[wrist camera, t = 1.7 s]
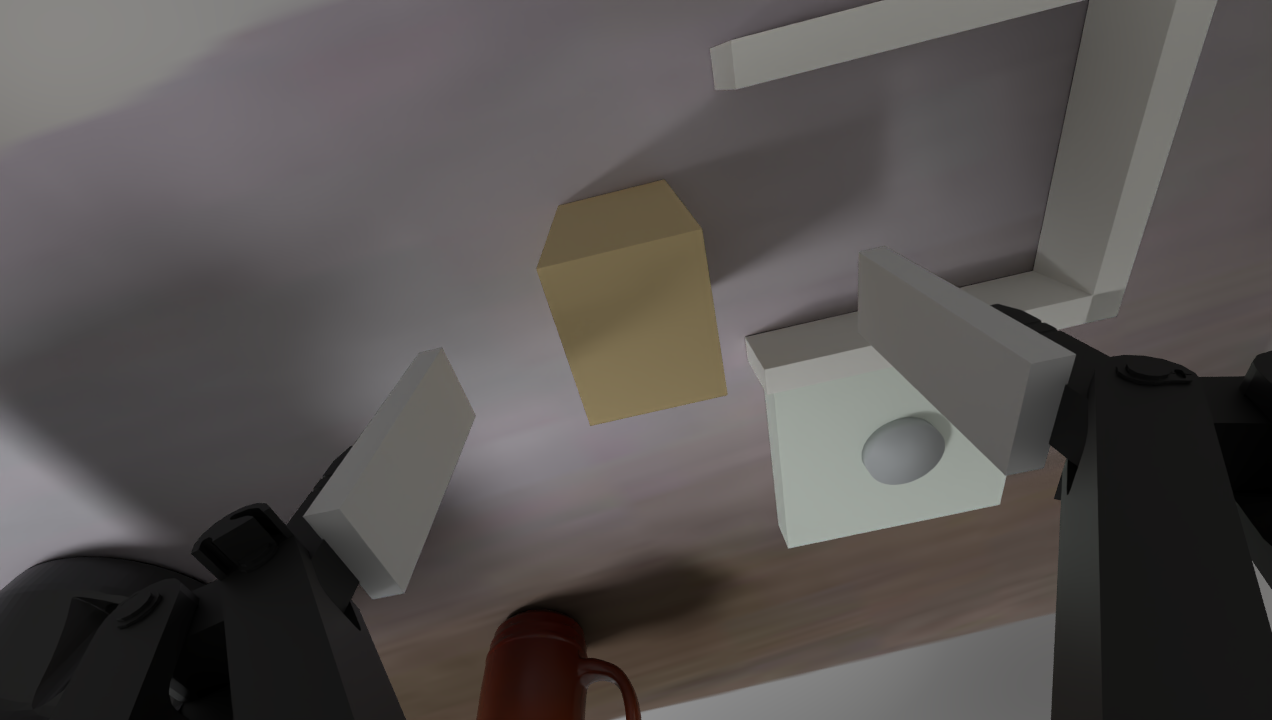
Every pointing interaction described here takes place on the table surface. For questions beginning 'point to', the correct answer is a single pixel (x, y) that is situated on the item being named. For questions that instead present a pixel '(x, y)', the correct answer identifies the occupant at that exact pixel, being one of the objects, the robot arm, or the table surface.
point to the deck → (1053, 292)
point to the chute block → (633, 302)
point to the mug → (544, 671)
